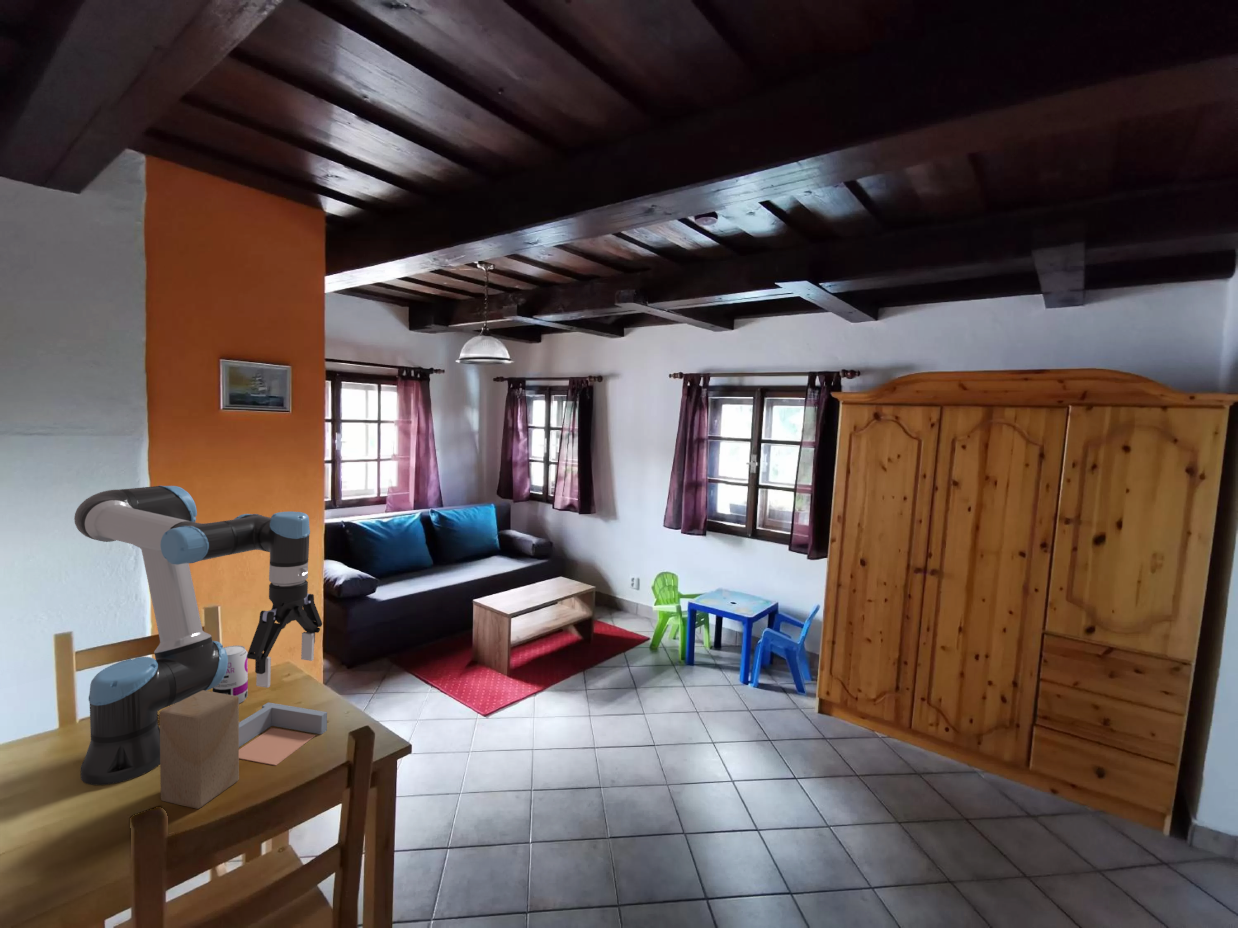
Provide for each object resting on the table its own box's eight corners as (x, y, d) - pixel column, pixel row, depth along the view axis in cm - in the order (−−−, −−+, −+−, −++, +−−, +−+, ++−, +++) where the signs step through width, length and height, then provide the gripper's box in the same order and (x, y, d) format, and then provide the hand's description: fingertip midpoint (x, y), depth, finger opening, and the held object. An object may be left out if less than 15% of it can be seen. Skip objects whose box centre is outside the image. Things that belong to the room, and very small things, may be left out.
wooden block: (198, 810, 117) (197, 718, 115) (159, 801, 119) (158, 710, 117) (239, 780, 127) (239, 695, 125) (203, 772, 129) (202, 688, 127)
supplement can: (245, 691, 166) (245, 642, 164) (249, 703, 159) (249, 652, 158) (211, 699, 160) (211, 648, 159) (214, 711, 154) (213, 658, 153)
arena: (207, 758, 134) (207, 738, 133) (267, 720, 151) (268, 702, 151) (272, 771, 130) (273, 750, 130) (326, 730, 148) (327, 711, 148)
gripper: (260, 600, 113) (258, 701, 115) (339, 568, 137) (337, 651, 139) (227, 596, 114) (225, 695, 116) (312, 565, 138) (309, 647, 140)
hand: (286, 672), depth 127 cm, fingers open, 13 cm apart
